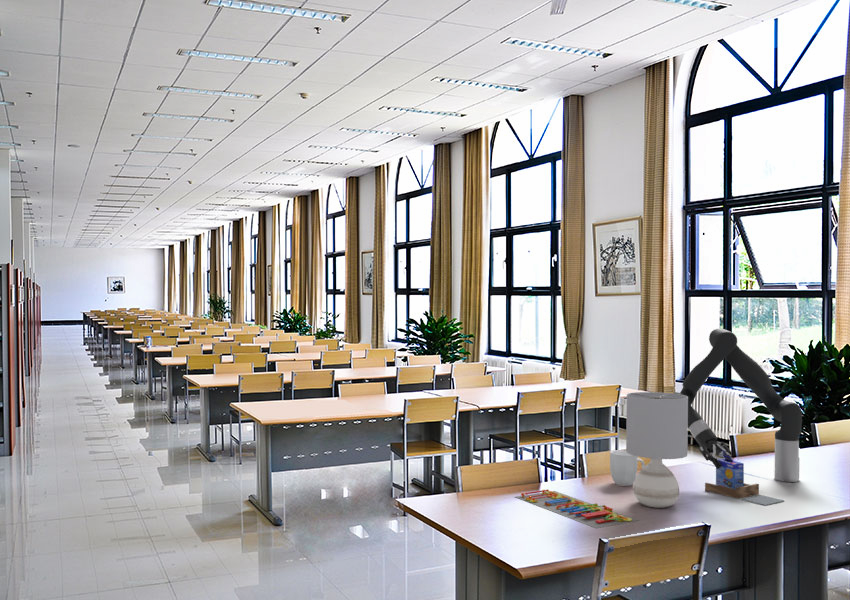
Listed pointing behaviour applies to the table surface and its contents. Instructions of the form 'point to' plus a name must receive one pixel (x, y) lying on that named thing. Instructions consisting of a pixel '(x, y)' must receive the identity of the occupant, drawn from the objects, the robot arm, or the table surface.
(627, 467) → the mug
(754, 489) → the frame
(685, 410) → the lamp
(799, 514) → the table surface
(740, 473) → the ink cartridge box
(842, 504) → the table surface
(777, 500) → the pad
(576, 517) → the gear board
